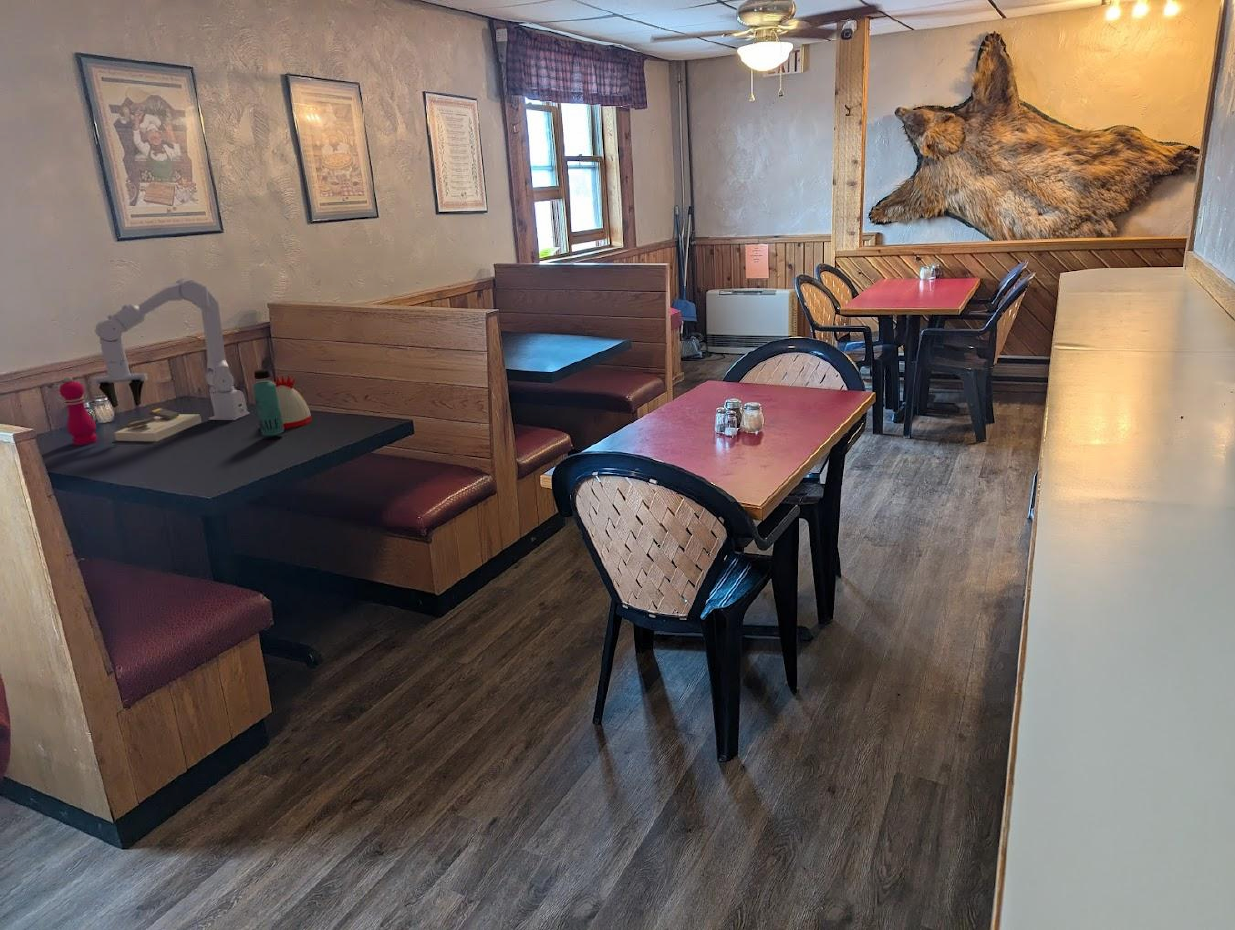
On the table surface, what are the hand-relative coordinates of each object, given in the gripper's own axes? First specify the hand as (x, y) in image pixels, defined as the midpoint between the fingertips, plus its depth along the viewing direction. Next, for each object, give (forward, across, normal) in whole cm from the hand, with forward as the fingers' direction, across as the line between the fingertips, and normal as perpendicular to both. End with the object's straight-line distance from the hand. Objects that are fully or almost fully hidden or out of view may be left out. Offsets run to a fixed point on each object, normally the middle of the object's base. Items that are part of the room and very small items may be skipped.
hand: (126, 405), depth 255 cm
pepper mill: (+10, +13, +3) cm, 16 cm away
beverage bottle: (+10, -44, +16) cm, 48 cm away
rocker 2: (+5, -7, -8) cm, 12 cm away
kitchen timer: (+10, -45, 0) cm, 46 cm away
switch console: (+9, -6, -3) cm, 12 cm away
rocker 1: (+5, -3, +1) cm, 6 cm away
